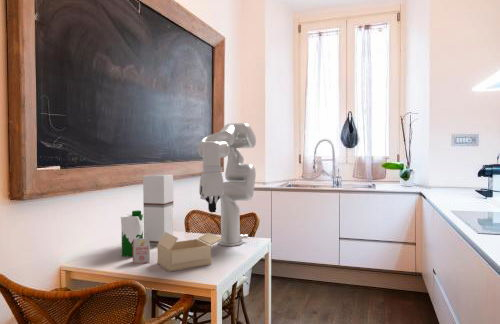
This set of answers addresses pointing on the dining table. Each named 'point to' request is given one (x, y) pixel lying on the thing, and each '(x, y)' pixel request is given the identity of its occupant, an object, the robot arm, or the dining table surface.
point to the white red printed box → (141, 250)
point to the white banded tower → (157, 206)
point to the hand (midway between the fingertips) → (212, 211)
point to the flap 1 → (168, 241)
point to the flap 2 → (210, 238)
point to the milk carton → (131, 231)
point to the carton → (184, 255)
